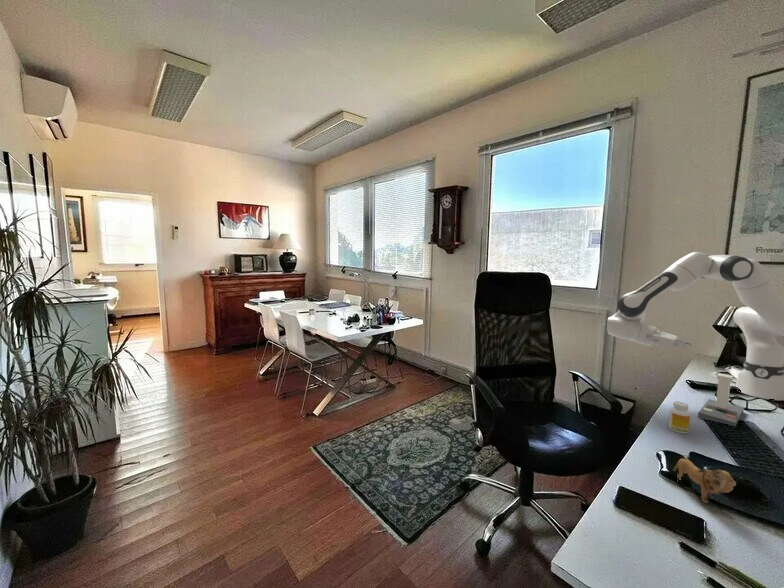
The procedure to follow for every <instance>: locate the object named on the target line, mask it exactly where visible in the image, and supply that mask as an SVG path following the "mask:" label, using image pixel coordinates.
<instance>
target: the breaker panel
mask: <svg viewBox="0 0 784 588" xmlns="http://www.w3.org/2000/svg"><path fill="white" fill-rule="evenodd" d="M744 410H745V407H743V406H739V405H734V404H731V403H728V409H727V411H724V410H720V409H716V400H715V399H711V398H709V399H708V400H707V401H706V402H705V403H704V405H703V406H702V407H701V409H700V410H699V411H698V412H697V418H698V419H702V420H706V421H709V420H711V421H710V422H712V421H716V422H721V423H725V424H729V425H733V426H736V427H737V425H738V423H739V421H740V419H741V418H742V415H743V414H744ZM738 420H739V421H738ZM716 422H715V423H716ZM737 422H738V423H737ZM736 424H737V425H736Z"/></svg>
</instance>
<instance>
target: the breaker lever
mask: <svg viewBox="0 0 784 588" xmlns="http://www.w3.org/2000/svg"><path fill="white" fill-rule="evenodd" d="M716 380H718V381H717V382H718V383H717V390H716V400H715V401H716V409H720V410H724V411H727V409H728V404H729V400H730V391H731V388H730V387H731V385H732V384H731V383H732V382H733V381H734V375H730V374H725V373H720V372H719V373H717V374H716Z"/></svg>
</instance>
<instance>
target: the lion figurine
mask: <svg viewBox="0 0 784 588" xmlns="http://www.w3.org/2000/svg"><path fill="white" fill-rule="evenodd" d="M672 470H673V471H674V472H676V470H678V471H679V474H678V473H677V476H676V477H677V478H678V479H679V480H681V481H682V479H681V477H682V476H683V475H684V474H687V475H688V477H689V479H691V480H692V481H693V482H694V483H695V484H697V485H699V486H700V489H701V491H700V492H701V496H700V499H701V501H702V502H704V504H705V503H706V504H708V503H709V500H708V497H707V493H708V494H710V495H713V494H715V495H719V494H723V493H725V494H726V493H730V492H732V491H733V490H734V487H735V486H736V485H737V481H735V480H734V478H733V477H732V475H730V473H729V472H728V471H726V470H721V469H700V468H699V467H697V466H696V465H695V464H694V463H693V462H692V461H691V460H689V459H687V458H680V459H679V460H677V463H676V465H675V466H674V468H673V469H672ZM678 479H677V480H678Z"/></svg>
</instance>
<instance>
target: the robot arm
mask: <svg viewBox="0 0 784 588" xmlns="http://www.w3.org/2000/svg"><path fill="white" fill-rule="evenodd" d="M700 278H701V279H708V280H712V281H728V282H731V284H732V286H733V288H734V290H735V292H736V295H737V296H738V298H739V301H740V302H741V303H742V304H743V305H745V306H742V307H738V308H737V309H736V310H735V312H734V313H733V315H732V318H733V322H734V324H736V325H737V326H738V327H739V328H740V330H741V331H742V334H743V335H744V337H745V341H746V353H745V354H746V356H745V360H744V362H743V369H742V370H740V371H738V372H737V378H736V382H735V384H736V387H738V388H739V389H740V390H741V392H740V393H742V394H745V395H746V396H747V395H748V396H751V397H754V398H759V399H763V400H769V399H774V400H773V401H784V346H783V345H782V344H780V342H778V341H777V339H776V338H775V336H780V337H784V299H783V298H782V297H781V296H780V294H778V292H777V290H776V289H775V287H774V285H773V282H772V281H771V278H770V276H769V274H768V273H767V271H766V270H765V268H764V267H763V266H762V264H761V263H760V262H759V260H756V259H753V258H746V257H744V256H740V255H730V254H714V255H713V254H706V253H704V252H700V251H693V252H690V253H688V254H686V255H684V256H683V257H681V258H678V260H676V261H675V262H673V263H672V264H671V265H669V266H668V267H667V268H666V269H664V271H662V272H661V273H659V274H658V275H657V276H655V277H653V278H652V279H651V280H649V281H648V282H647V283H645V284H643V285H642V286H640V287H639V288H638V289H636V290H633V291H631V292H627V293H625V294H623V295H622V296H620V297H619V298H618V300H617V304H616V305H617V308H618V311H616V312H615V313H614V314H613V315H612V316H609V317H608V318H607V319H606V323H605V330H606V332H607V334H608V335H611V336H613V337H615V338H619V339H622V340H626V341H632V342H634V343H636V344H639V345H643V346H648V347H651V346H652V345H654V346H660V347H664V348H668V349H673V348H678V349H679V348H680V349H686V350H689V349H690V348H691V346H692V342H689V341H685V340H682V339H680V338H679V336H677V335H675V334H672V333H668V332H665V331H662V330H658V328H657V326H656V325H655V326H654V325H649V324H646V323H644V320H645V319H646V318H647V306H648V304H649V302H650V301H652V300H653V299H654V298H656V297H657V296H659V295H660V294H662V293H664V292H665V291H667V290H669V291H671V292H681V291H683V290H686V289H687V288H689V287H690V286H691V285H694V283H696V282H697V281H698V280H700Z"/></svg>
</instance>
